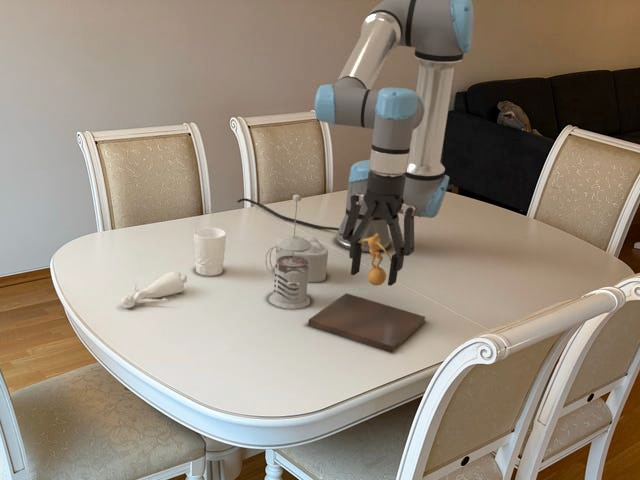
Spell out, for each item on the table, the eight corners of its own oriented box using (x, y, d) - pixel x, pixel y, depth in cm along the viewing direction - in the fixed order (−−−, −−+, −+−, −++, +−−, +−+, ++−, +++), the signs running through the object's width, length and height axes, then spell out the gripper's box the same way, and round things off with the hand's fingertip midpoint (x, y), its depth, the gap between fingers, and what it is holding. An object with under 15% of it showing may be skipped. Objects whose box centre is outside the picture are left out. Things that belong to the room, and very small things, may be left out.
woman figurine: (199, 276, 161) (137, 303, 149) (200, 294, 163) (139, 321, 151) (166, 262, 167) (103, 286, 155) (167, 279, 169) (106, 304, 158)
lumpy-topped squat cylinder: (294, 261, 186) (296, 229, 181) (334, 274, 179) (338, 242, 175) (269, 271, 178) (271, 239, 174) (311, 286, 172) (314, 253, 167)
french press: (296, 312, 158) (305, 204, 146) (254, 298, 163) (258, 192, 151) (318, 298, 166) (327, 194, 153) (276, 285, 171) (283, 184, 158)
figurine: (396, 289, 150) (404, 235, 144) (377, 295, 146) (386, 241, 141) (367, 276, 155) (374, 224, 149) (348, 282, 152) (355, 229, 146)
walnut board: (308, 325, 153) (308, 319, 152) (345, 298, 167) (346, 293, 166) (392, 352, 144) (393, 346, 144) (424, 322, 158) (425, 316, 157)
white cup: (230, 269, 178) (231, 231, 173) (215, 279, 172) (215, 240, 167) (203, 262, 181) (203, 225, 176) (187, 272, 174) (187, 234, 169)
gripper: (443, 178, 137) (425, 285, 149) (349, 159, 146) (338, 261, 157) (430, 185, 132) (411, 296, 143) (332, 165, 141) (322, 271, 152)
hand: (373, 278), depth 150 cm, fingers closed on figurine, 8 cm apart
